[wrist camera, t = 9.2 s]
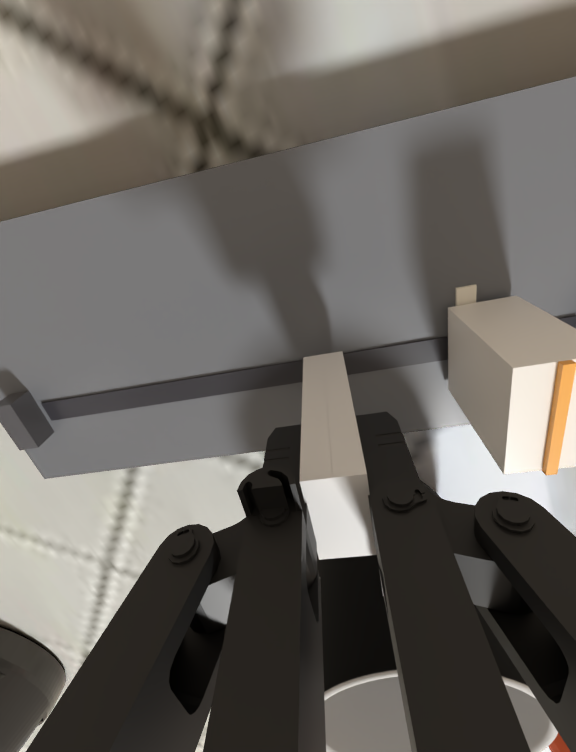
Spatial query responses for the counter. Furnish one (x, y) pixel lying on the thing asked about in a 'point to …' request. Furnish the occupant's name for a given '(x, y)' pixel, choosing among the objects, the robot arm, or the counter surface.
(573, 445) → the fader tab
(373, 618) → the mug
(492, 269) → the console
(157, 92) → the counter surface
